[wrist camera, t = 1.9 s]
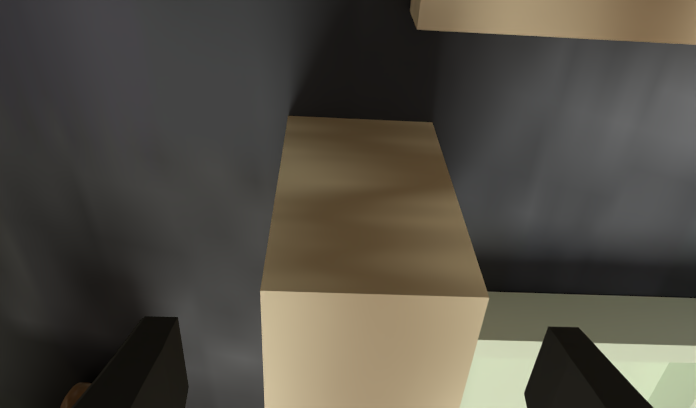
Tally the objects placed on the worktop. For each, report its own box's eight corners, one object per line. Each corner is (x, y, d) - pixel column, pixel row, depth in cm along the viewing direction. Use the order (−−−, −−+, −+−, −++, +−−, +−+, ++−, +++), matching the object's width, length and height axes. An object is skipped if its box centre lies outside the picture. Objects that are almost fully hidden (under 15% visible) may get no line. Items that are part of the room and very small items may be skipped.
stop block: (432, 122, 16) (489, 297, 10) (414, 236, 18) (452, 433, 12) (288, 115, 16) (260, 291, 10) (288, 231, 18) (265, 431, 12)
